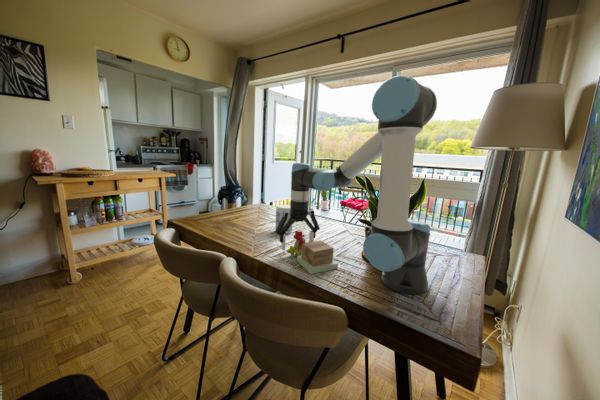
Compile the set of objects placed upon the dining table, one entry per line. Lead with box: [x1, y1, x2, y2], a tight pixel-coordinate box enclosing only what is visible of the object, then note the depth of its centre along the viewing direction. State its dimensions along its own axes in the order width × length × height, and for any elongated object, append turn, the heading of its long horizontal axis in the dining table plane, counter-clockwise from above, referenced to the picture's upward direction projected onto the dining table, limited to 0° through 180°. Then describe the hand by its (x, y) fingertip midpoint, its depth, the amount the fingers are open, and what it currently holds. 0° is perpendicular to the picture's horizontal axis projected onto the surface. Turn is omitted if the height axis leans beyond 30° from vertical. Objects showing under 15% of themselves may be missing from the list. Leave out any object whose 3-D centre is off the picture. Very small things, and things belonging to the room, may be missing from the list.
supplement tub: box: [275, 204, 294, 235], centre depth 136 cm, size 10×10×15 cm
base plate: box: [296, 255, 339, 275], centre depth 98 cm, size 12×12×2 cm
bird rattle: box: [287, 230, 306, 256], centre depth 107 cm, size 6×11×9 cm
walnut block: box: [301, 240, 334, 267], centre depth 97 cm, size 9×9×6 cm
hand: (297, 247), depth 107 cm, fingers open, 13 cm apart
